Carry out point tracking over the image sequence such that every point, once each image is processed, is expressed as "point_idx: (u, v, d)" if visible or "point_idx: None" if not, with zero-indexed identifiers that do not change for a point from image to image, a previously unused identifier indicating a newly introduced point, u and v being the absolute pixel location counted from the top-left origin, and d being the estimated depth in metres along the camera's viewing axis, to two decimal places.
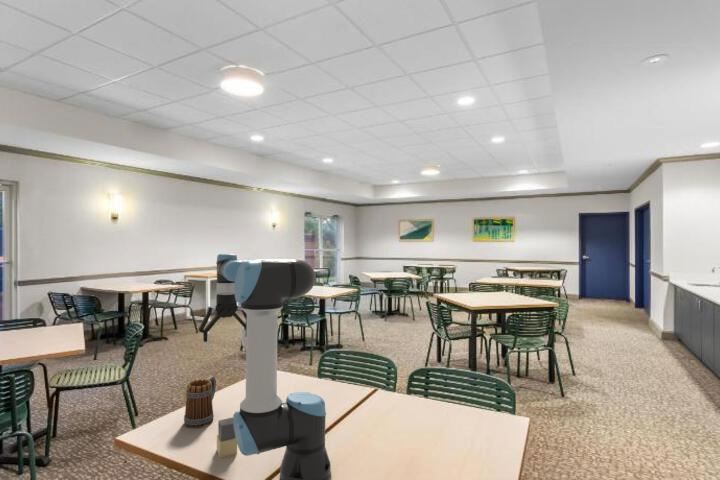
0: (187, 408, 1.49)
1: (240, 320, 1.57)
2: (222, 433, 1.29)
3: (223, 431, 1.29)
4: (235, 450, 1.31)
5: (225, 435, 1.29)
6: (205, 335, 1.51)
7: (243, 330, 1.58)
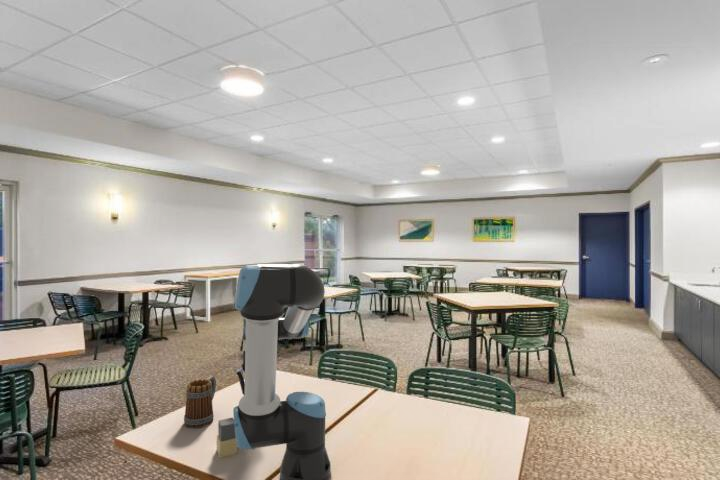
0: (187, 408, 1.49)
1: None
2: (222, 433, 1.29)
3: (223, 431, 1.29)
4: (235, 450, 1.31)
5: (225, 435, 1.29)
6: None
7: None
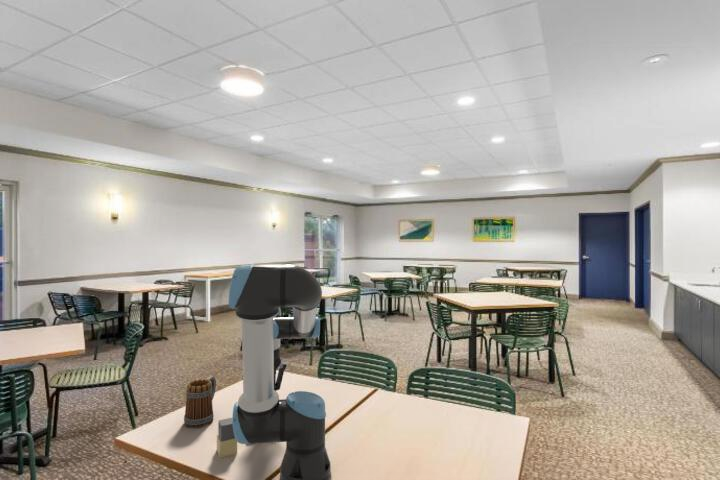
0: (187, 408, 1.49)
1: (274, 380, 1.52)
2: (222, 433, 1.29)
3: (223, 431, 1.29)
4: (235, 450, 1.31)
5: (225, 435, 1.29)
6: None
7: None
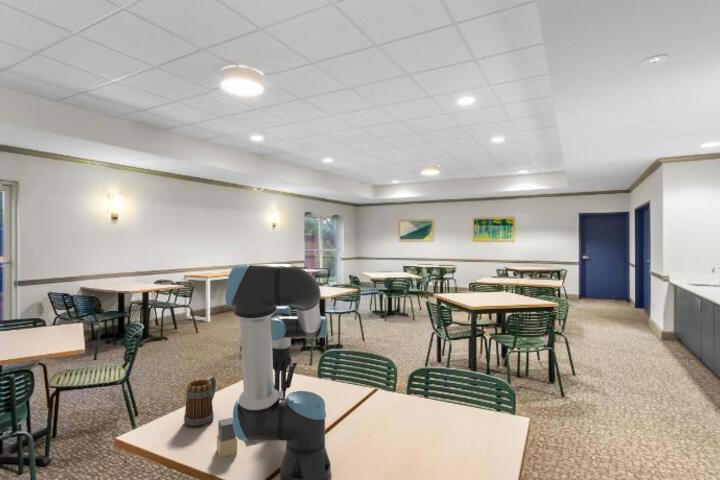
0: (187, 408, 1.49)
1: (284, 378, 1.54)
2: (222, 433, 1.29)
3: (223, 431, 1.29)
4: (235, 450, 1.31)
5: (225, 435, 1.29)
6: None
7: None
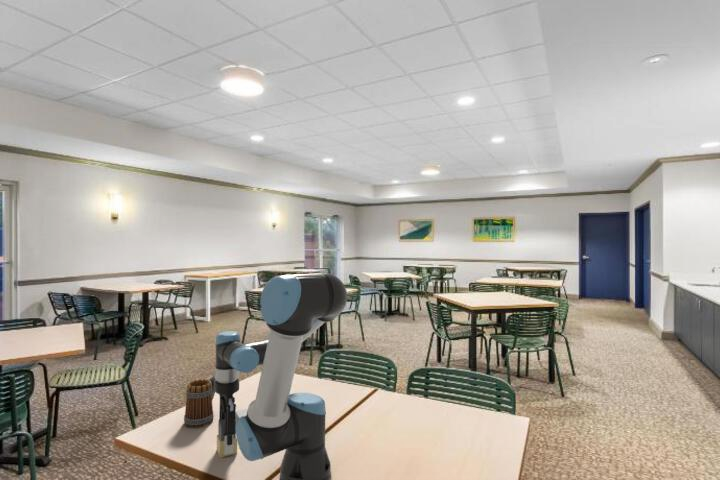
0: (187, 408, 1.49)
1: (225, 420, 1.29)
2: (222, 433, 1.29)
3: (223, 431, 1.29)
4: (235, 450, 1.31)
5: None
6: None
7: None
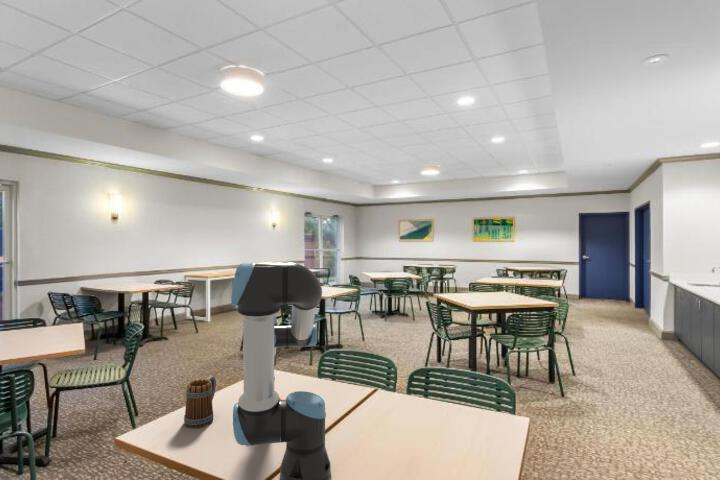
0: (187, 408, 1.49)
1: None
2: None
3: None
4: None
5: None
6: None
7: None
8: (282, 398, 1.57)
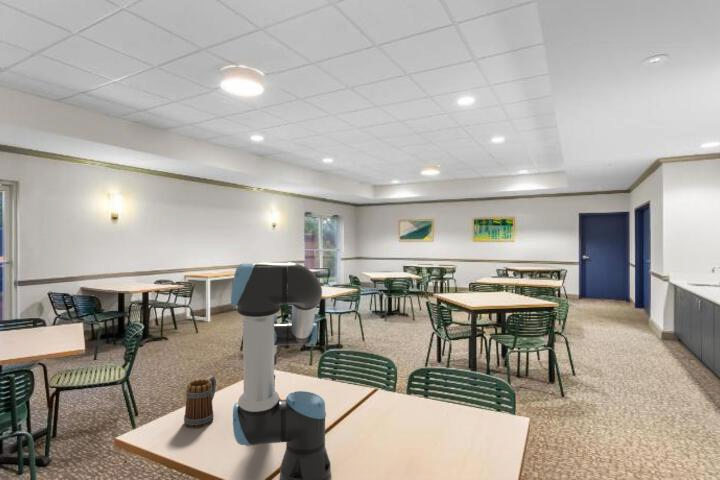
0: (187, 408, 1.49)
1: None
2: None
3: None
4: None
5: None
6: None
7: None
8: (282, 398, 1.57)
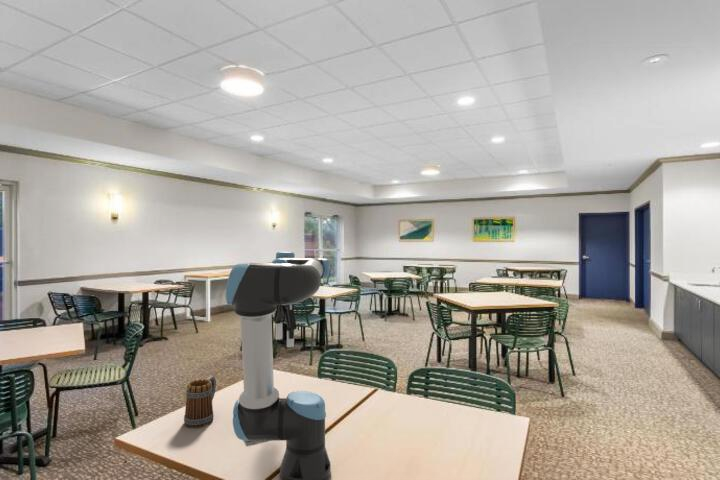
0: (187, 408, 1.49)
1: (286, 319, 1.55)
2: None
3: None
4: None
5: None
6: None
7: None
8: None
